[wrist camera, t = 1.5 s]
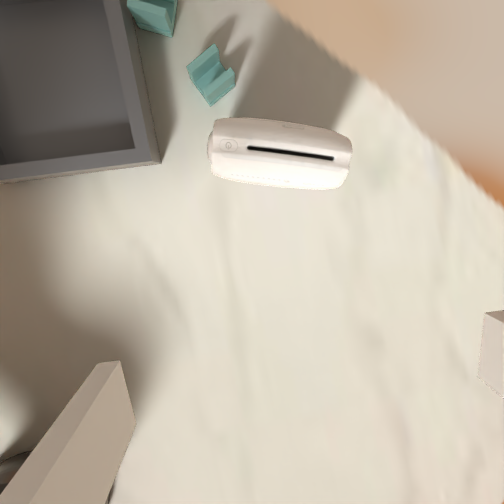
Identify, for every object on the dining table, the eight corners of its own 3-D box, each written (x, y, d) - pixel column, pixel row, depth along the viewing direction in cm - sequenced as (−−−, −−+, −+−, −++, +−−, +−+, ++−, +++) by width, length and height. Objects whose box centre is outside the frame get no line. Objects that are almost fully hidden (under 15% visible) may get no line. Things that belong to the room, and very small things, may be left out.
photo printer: (212, 179, 30) (200, 177, 18) (215, 135, 29) (205, 101, 17) (308, 190, 31) (359, 196, 19) (315, 148, 30) (373, 126, 18)
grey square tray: (4, 183, 28) (-28, 183, 25) (-57, -1, 24) (-105, -32, 21) (161, 163, 29) (151, 161, 25) (125, -19, 25) (108, -52, 22)
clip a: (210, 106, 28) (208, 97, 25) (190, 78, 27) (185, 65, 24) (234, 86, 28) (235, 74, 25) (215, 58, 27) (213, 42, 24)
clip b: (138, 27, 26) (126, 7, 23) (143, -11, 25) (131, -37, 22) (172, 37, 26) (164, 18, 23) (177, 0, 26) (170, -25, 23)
